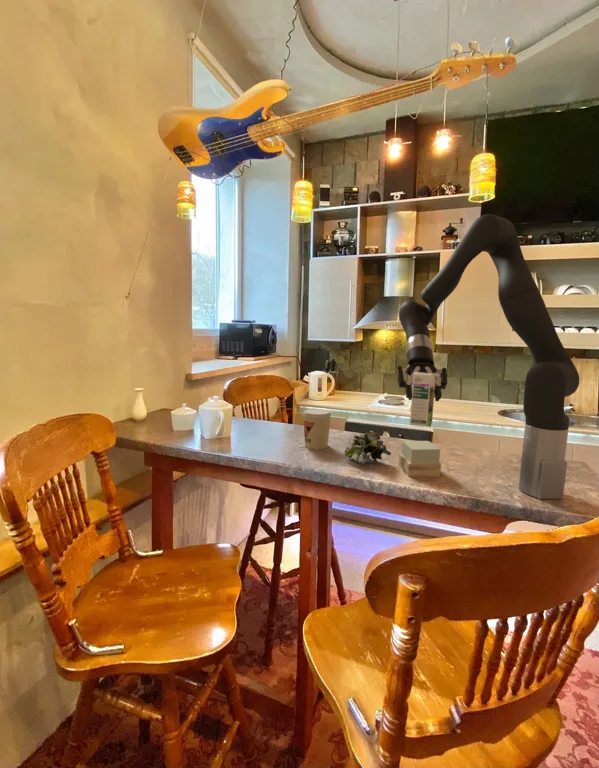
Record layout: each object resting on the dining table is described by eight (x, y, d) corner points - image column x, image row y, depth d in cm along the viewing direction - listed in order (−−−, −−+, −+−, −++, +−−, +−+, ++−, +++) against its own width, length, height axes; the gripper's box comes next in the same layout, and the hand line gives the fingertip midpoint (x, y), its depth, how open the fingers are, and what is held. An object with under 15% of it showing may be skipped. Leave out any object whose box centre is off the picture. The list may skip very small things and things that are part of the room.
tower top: (439, 463, 113) (440, 449, 112) (411, 463, 112) (412, 449, 111) (427, 453, 120) (428, 440, 120) (401, 454, 120) (402, 441, 119)
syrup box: (409, 425, 113) (412, 373, 111) (411, 420, 118) (415, 370, 116) (430, 427, 111) (434, 374, 108) (432, 422, 116) (436, 372, 114)
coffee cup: (299, 443, 141) (299, 409, 140) (324, 441, 144) (325, 408, 142) (307, 451, 133) (308, 415, 131) (334, 448, 135) (335, 413, 134)
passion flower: (372, 476, 126) (397, 448, 123) (360, 481, 116) (387, 451, 113) (347, 451, 130) (370, 423, 127) (333, 454, 121) (358, 424, 118)
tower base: (440, 477, 113) (441, 463, 112) (408, 477, 112) (409, 463, 111) (427, 466, 121) (428, 453, 121) (398, 466, 121) (399, 453, 120)
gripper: (396, 344, 119) (399, 390, 110) (447, 345, 118) (454, 392, 108) (393, 360, 125) (395, 405, 116) (441, 361, 124) (447, 407, 114)
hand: (424, 398), depth 112 cm, fingers closed on syrup box, 6 cm apart
